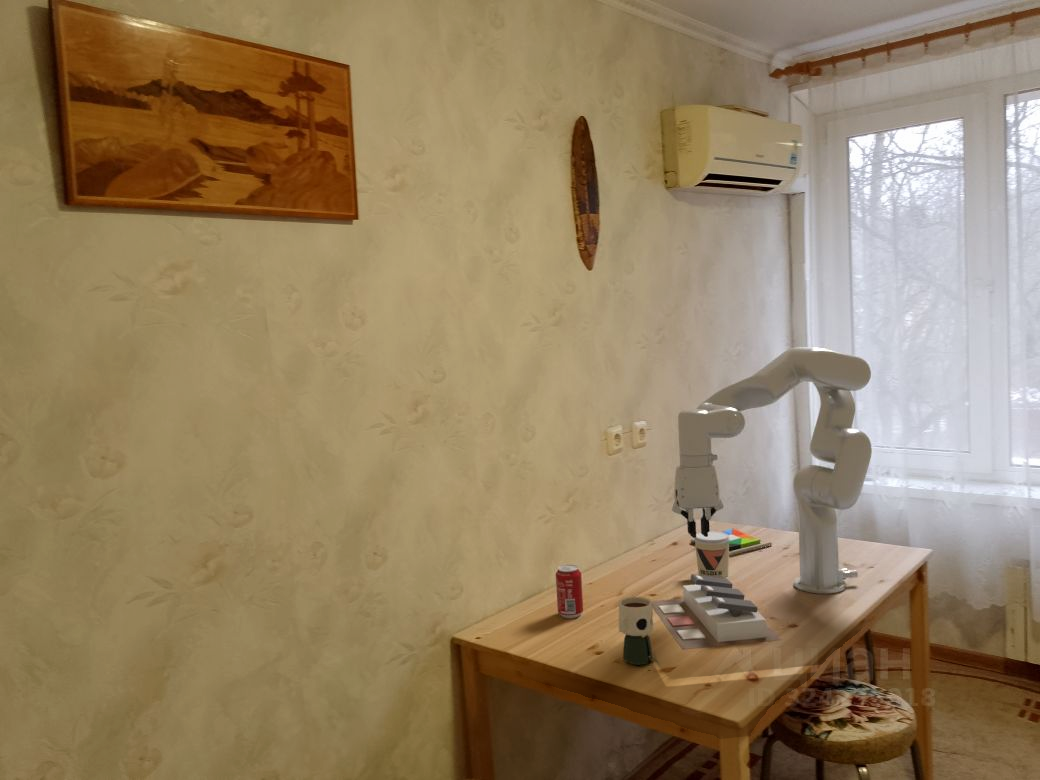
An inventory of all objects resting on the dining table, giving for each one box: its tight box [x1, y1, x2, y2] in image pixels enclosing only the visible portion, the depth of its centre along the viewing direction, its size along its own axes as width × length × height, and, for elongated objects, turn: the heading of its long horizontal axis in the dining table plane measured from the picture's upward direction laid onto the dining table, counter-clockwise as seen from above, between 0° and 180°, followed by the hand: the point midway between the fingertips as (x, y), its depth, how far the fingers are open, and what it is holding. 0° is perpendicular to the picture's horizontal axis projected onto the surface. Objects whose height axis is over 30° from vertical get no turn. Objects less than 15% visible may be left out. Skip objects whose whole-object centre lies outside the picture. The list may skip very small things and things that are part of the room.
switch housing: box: [682, 583, 767, 642], centre depth 193 cm, size 11×26×4 cm, turn 5°
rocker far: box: [690, 574, 733, 588], centre depth 200 cm, size 9×4×3 cm, turn 95°
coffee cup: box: [693, 530, 730, 578], centre depth 224 cm, size 9×9×12 cm
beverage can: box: [555, 564, 584, 619], centre depth 203 cm, size 6×6×12 cm
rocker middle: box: [701, 585, 746, 600], centre depth 192 cm, size 9×4×3 cm, turn 95°
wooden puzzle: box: [690, 528, 773, 557], centre depth 254 cm, size 18×19×4 cm
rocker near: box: [711, 596, 758, 617], centre depth 184 cm, size 9×4×3 cm, turn 95°
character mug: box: [617, 596, 654, 666], centre depth 174 cm, size 11×7×13 cm, turn 134°
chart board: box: [651, 597, 782, 650], centre depth 193 cm, size 22×30×2 cm
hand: (698, 535), depth 199 cm, fingers closed
